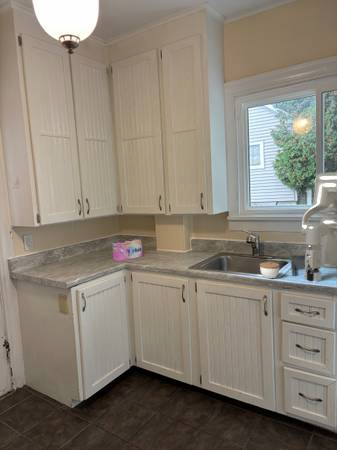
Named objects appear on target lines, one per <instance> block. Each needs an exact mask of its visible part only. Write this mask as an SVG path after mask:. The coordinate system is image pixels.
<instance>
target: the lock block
mask: <svg viewBox="0 0 337 450" xmlns="http://www.w3.org/2000/svg"><path fill="white" fill-rule="evenodd" d="M309 270H310V271H311V269H309ZM312 274H313V281H315V282H314V283H317V281H318V282H320V281H319V280H321V281H322V271H320V270H319V271H317V270H313V271H312ZM303 279H306V280H305V281H308V280H307V273H306V270H304V277H303ZM313 281H312V282H313Z"/></svg>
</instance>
